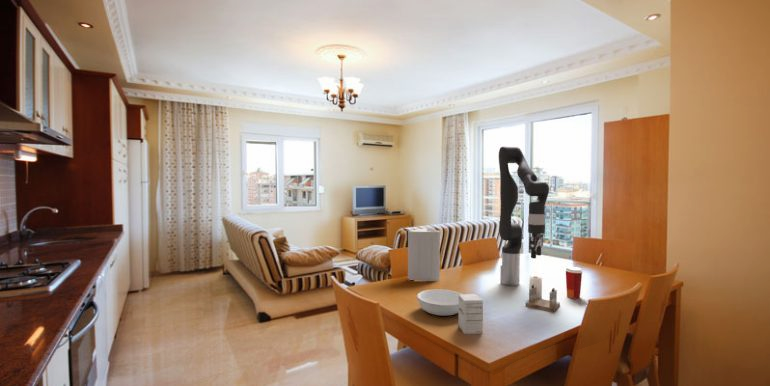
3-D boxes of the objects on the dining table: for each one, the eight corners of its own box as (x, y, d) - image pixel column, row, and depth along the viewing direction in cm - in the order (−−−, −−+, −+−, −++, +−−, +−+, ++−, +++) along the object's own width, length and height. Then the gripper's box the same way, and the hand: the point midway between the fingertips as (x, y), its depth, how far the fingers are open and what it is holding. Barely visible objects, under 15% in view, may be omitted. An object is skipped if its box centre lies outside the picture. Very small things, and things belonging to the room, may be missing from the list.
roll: (527, 298, 175) (527, 276, 175) (531, 295, 180) (531, 274, 179) (539, 300, 172) (540, 278, 171) (543, 297, 176) (543, 276, 176)
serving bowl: (435, 325, 142) (436, 307, 142) (408, 308, 161) (408, 293, 161) (476, 315, 152) (477, 299, 152) (446, 301, 171) (446, 286, 170)
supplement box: (457, 326, 141) (458, 294, 141) (476, 325, 142) (476, 293, 141) (463, 334, 134) (463, 300, 133) (483, 333, 134) (483, 299, 134)
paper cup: (581, 295, 179) (582, 267, 179) (582, 300, 172) (583, 270, 172) (564, 293, 182) (564, 265, 182) (564, 298, 175) (564, 269, 175)
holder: (525, 306, 164) (525, 286, 164) (532, 300, 172) (532, 282, 172) (554, 312, 157) (554, 292, 156) (559, 305, 164) (560, 286, 164)
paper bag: (429, 284, 198) (429, 233, 197) (407, 279, 207) (407, 231, 207) (447, 277, 212) (447, 229, 212) (426, 273, 222) (426, 227, 221)
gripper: (532, 221, 183) (532, 253, 183) (523, 224, 171) (523, 258, 172) (548, 222, 178) (548, 255, 178) (540, 225, 167) (540, 260, 167)
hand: (536, 256), depth 175 cm, fingers open, 8 cm apart
